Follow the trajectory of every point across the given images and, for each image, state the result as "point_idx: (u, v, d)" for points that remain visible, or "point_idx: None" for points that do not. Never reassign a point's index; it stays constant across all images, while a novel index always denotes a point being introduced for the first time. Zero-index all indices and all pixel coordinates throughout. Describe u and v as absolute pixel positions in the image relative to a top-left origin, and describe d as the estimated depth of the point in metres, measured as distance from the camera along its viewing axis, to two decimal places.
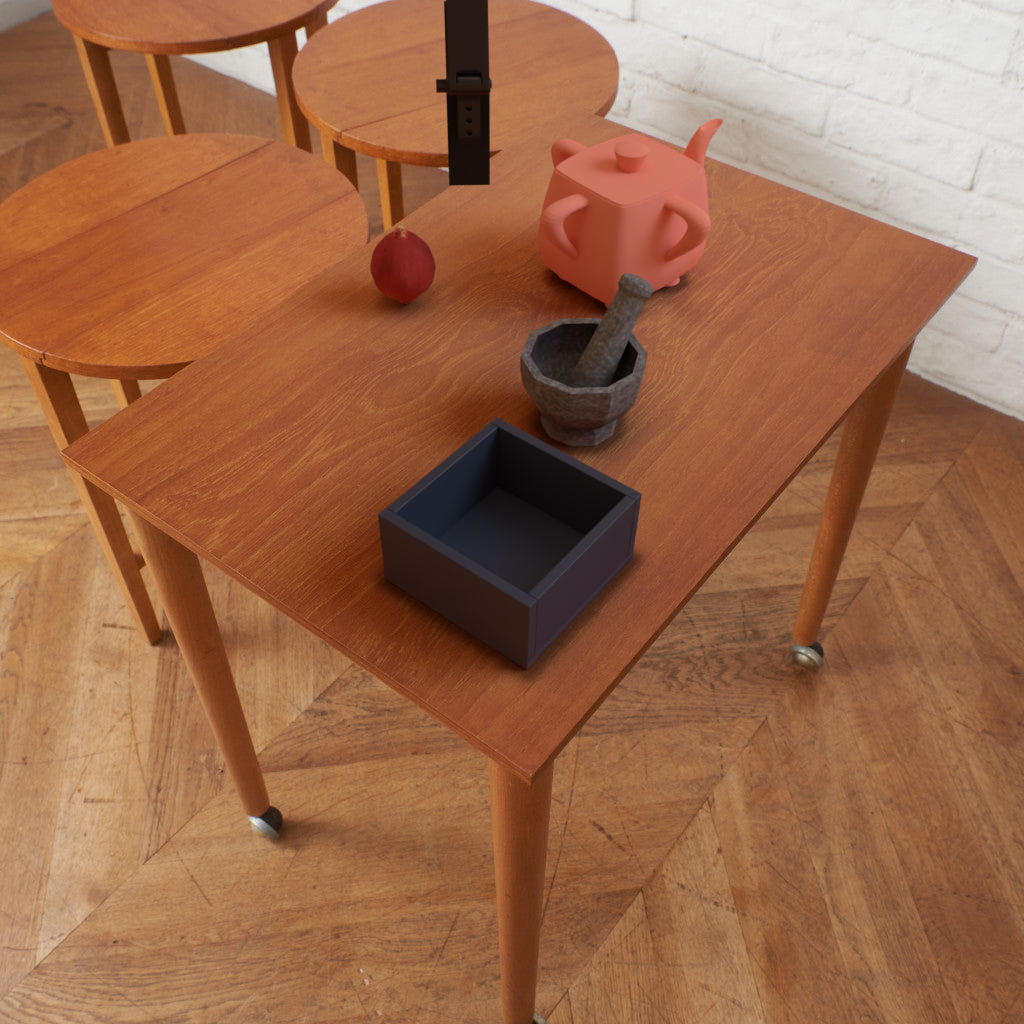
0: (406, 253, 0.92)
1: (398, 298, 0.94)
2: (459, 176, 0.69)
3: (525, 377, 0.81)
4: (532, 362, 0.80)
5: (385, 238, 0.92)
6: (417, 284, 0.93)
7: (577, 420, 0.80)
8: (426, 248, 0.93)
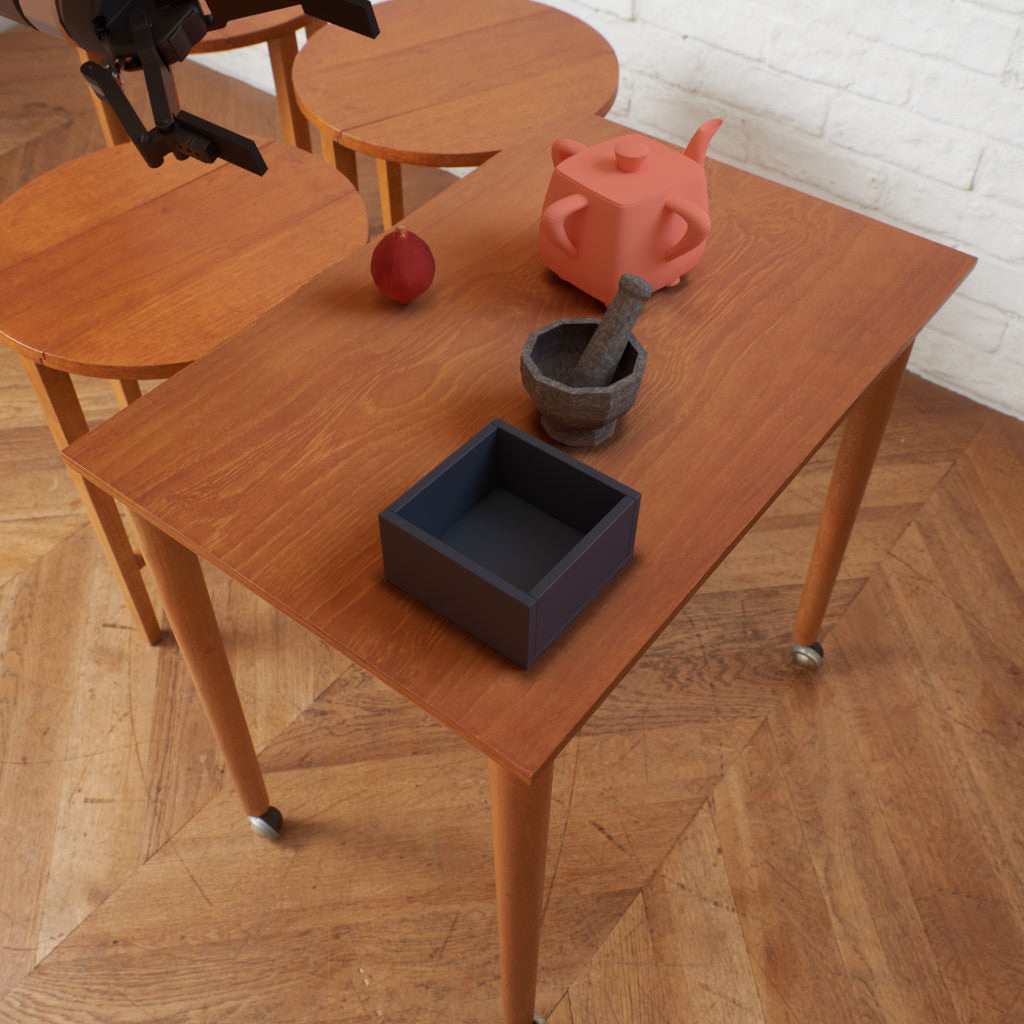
0: (406, 253, 0.92)
1: (398, 298, 0.94)
2: None
3: (525, 377, 0.81)
4: (532, 362, 0.80)
5: (385, 238, 0.92)
6: (417, 284, 0.93)
7: (577, 420, 0.80)
8: (426, 248, 0.93)
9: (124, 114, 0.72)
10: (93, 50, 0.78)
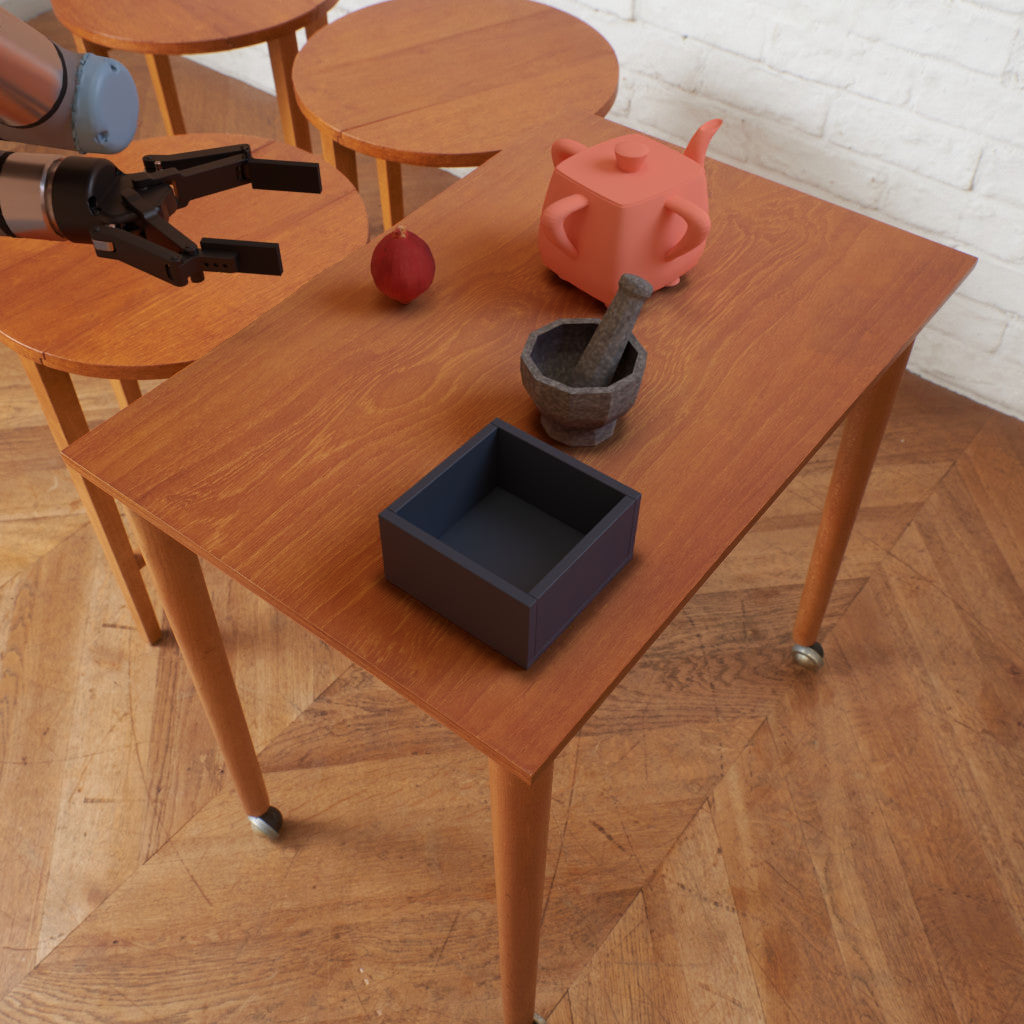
0: (406, 253, 0.92)
1: (398, 298, 0.94)
2: None
3: (525, 377, 0.81)
4: (532, 362, 0.80)
5: (385, 238, 0.92)
6: (417, 283, 0.93)
7: (577, 420, 0.80)
8: (426, 248, 0.93)
9: (151, 248, 0.86)
10: (79, 229, 0.91)
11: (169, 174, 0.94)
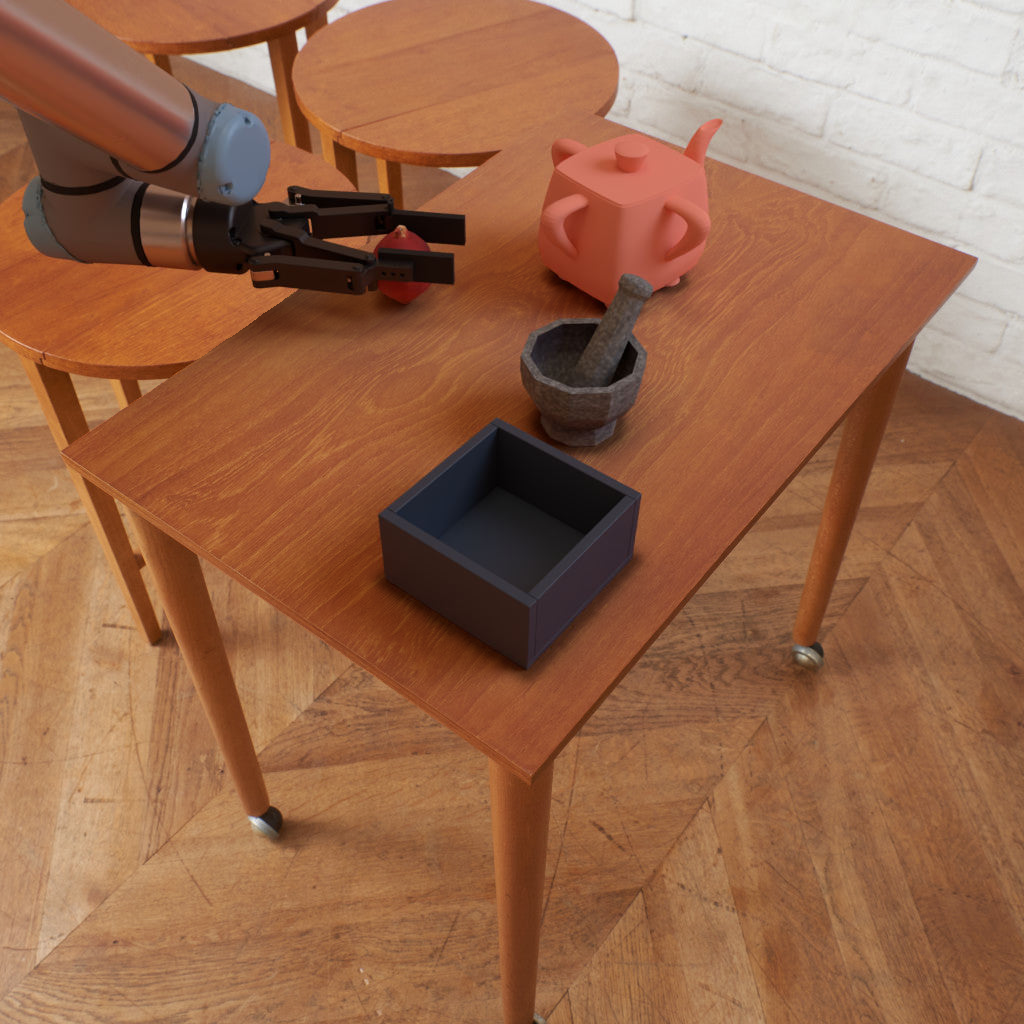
0: None
1: (398, 298, 0.94)
2: None
3: (525, 377, 0.81)
4: (532, 362, 0.80)
5: (385, 237, 0.92)
6: (417, 283, 0.93)
7: (577, 420, 0.80)
8: (426, 248, 0.93)
9: (325, 264, 0.88)
10: (218, 259, 0.92)
11: (305, 210, 0.93)
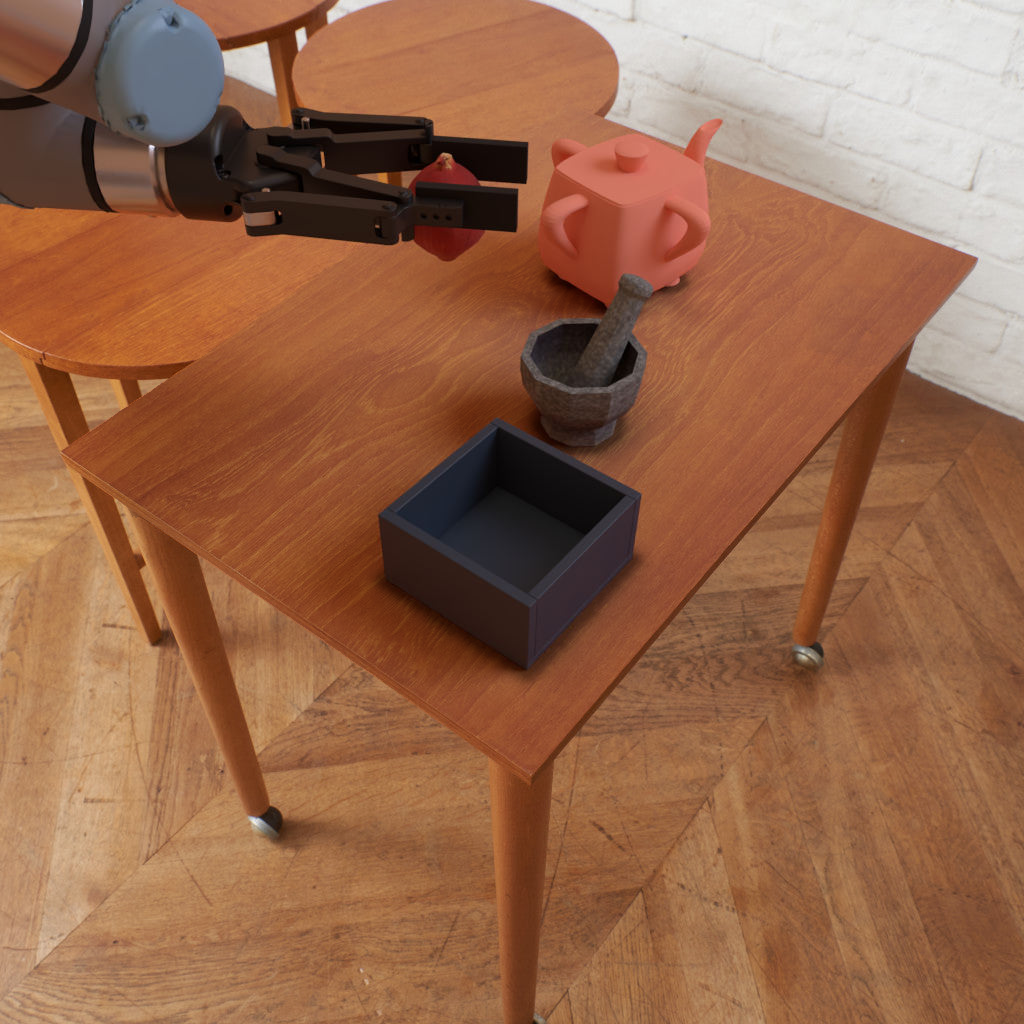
0: None
1: (440, 252, 0.71)
2: None
3: (525, 377, 0.81)
4: (532, 362, 0.80)
5: (424, 170, 0.69)
6: (466, 232, 0.70)
7: (577, 420, 0.80)
8: (478, 185, 0.70)
9: (345, 202, 0.65)
10: (200, 199, 0.69)
11: (316, 136, 0.70)
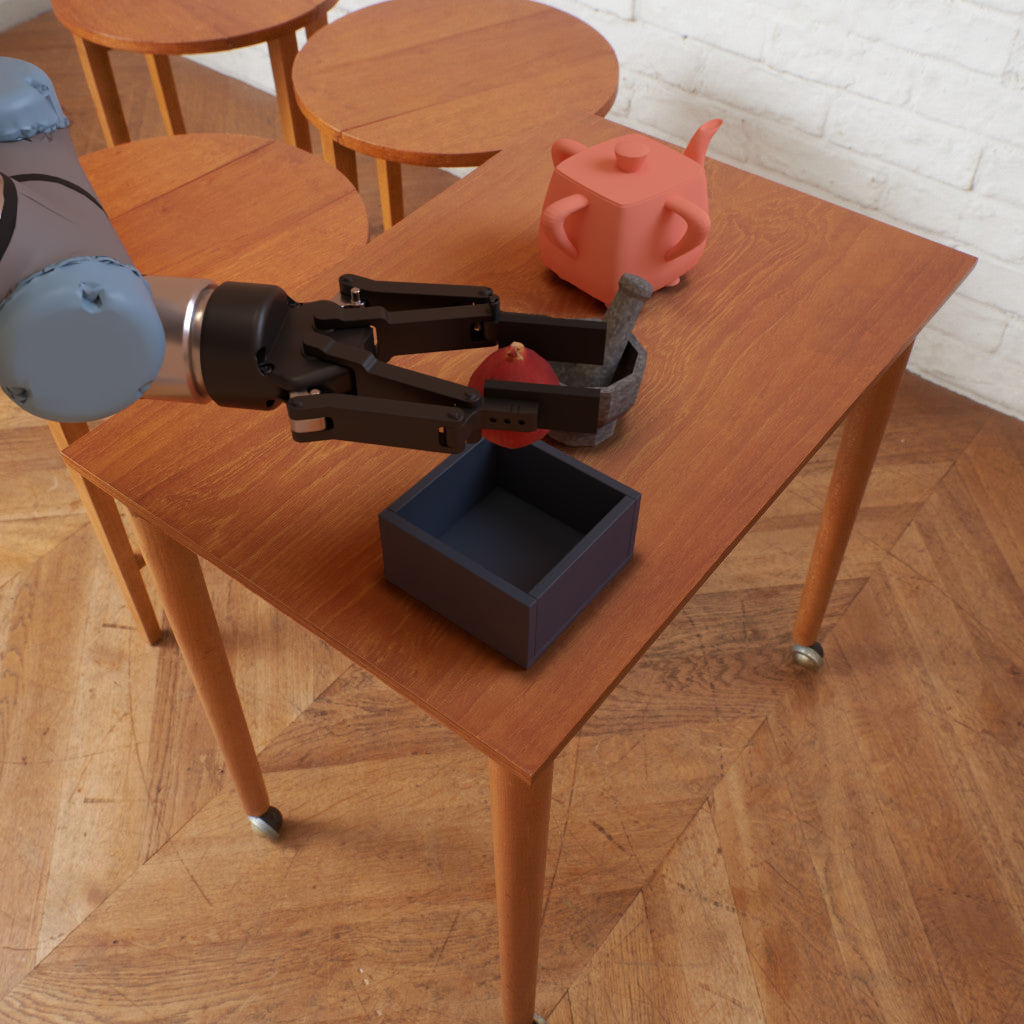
0: None
1: (507, 446, 0.63)
2: None
3: None
4: None
5: (491, 359, 0.61)
6: None
7: None
8: (552, 373, 0.62)
9: (406, 409, 0.57)
10: (239, 394, 0.61)
11: (369, 317, 0.62)
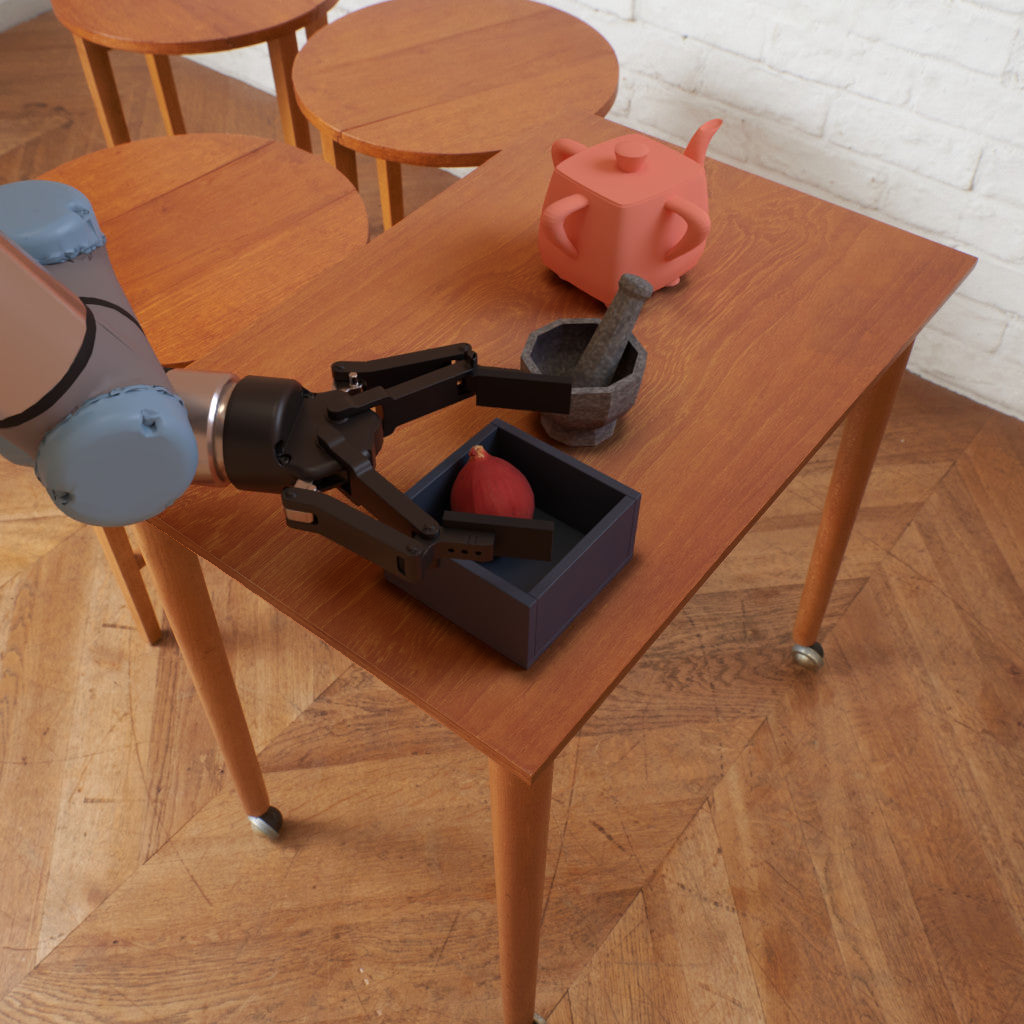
0: (487, 473, 0.71)
1: None
2: None
3: None
4: (532, 362, 0.80)
5: (462, 468, 0.73)
6: (509, 508, 0.70)
7: (577, 420, 0.80)
8: (514, 468, 0.72)
9: (375, 530, 0.61)
10: (258, 481, 0.66)
11: (376, 398, 0.68)
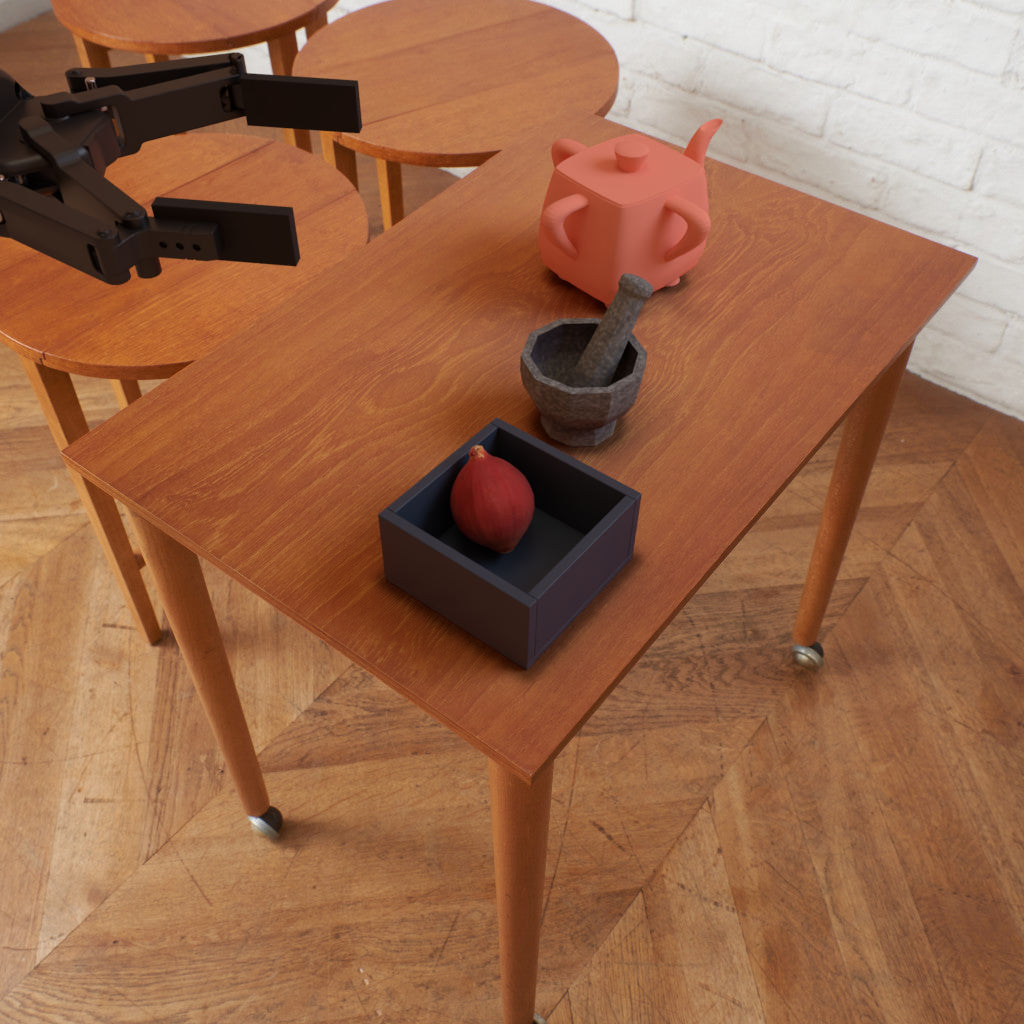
0: (487, 473, 0.71)
1: (492, 537, 0.71)
2: None
3: (525, 377, 0.81)
4: (532, 362, 0.80)
5: (462, 468, 0.73)
6: (509, 508, 0.70)
7: (577, 420, 0.80)
8: (514, 468, 0.72)
9: (63, 215, 0.48)
10: None
11: (106, 95, 0.55)
